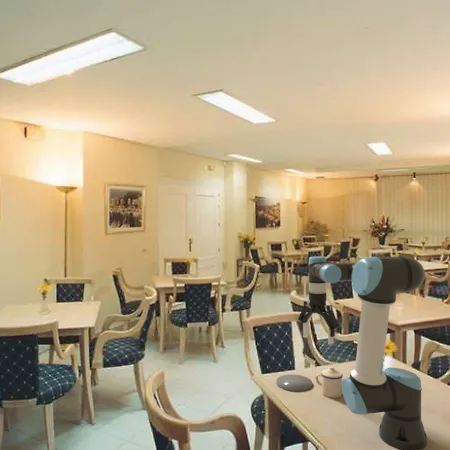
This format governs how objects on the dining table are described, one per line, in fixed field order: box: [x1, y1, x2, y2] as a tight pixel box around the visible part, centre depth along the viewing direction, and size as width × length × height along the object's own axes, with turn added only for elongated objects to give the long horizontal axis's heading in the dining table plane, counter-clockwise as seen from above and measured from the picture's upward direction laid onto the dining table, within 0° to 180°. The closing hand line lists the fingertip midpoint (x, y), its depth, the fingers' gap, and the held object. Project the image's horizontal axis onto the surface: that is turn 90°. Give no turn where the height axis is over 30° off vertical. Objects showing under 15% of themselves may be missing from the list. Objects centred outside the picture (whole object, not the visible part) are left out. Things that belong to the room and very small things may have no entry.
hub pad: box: [276, 374, 313, 392], centre depth 188 cm, size 16×16×1 cm
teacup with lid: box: [315, 366, 344, 399], centre depth 178 cm, size 12×9×12 cm
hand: (318, 340), depth 179 cm, fingers open, 13 cm apart
